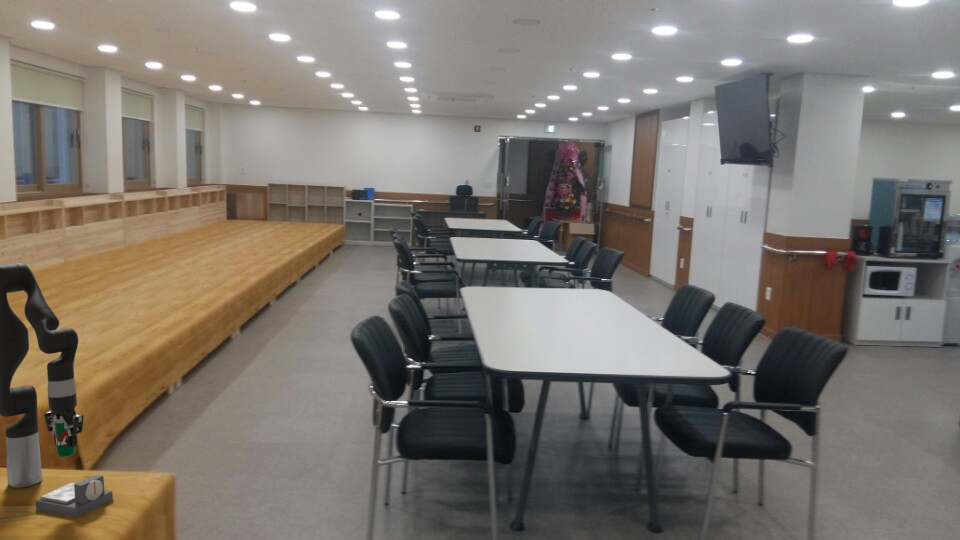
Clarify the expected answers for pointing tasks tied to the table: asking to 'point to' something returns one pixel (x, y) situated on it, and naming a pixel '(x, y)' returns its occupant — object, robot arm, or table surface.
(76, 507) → the scale base
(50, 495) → the scale platform
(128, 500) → the table surface
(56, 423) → the soda can
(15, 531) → the table surface
